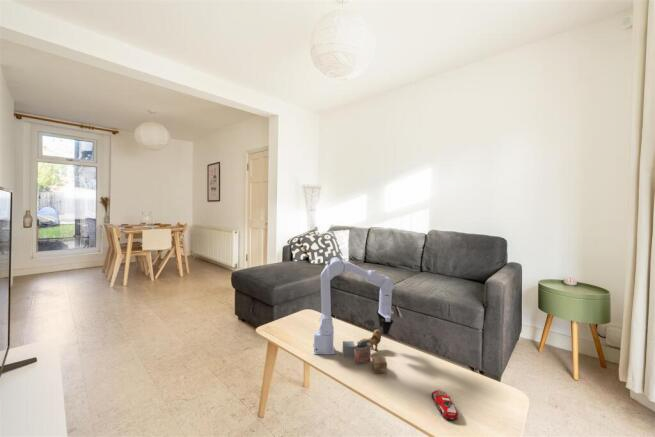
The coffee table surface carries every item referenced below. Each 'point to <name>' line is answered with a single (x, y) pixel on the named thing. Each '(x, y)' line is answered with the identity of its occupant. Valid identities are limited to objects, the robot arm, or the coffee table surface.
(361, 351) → the lighter
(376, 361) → the walnut block
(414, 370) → the coffee table surface
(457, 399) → the coffee table surface
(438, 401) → the race car
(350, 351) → the gray block
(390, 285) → the robot arm
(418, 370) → the coffee table surface
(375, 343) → the lion figurine
